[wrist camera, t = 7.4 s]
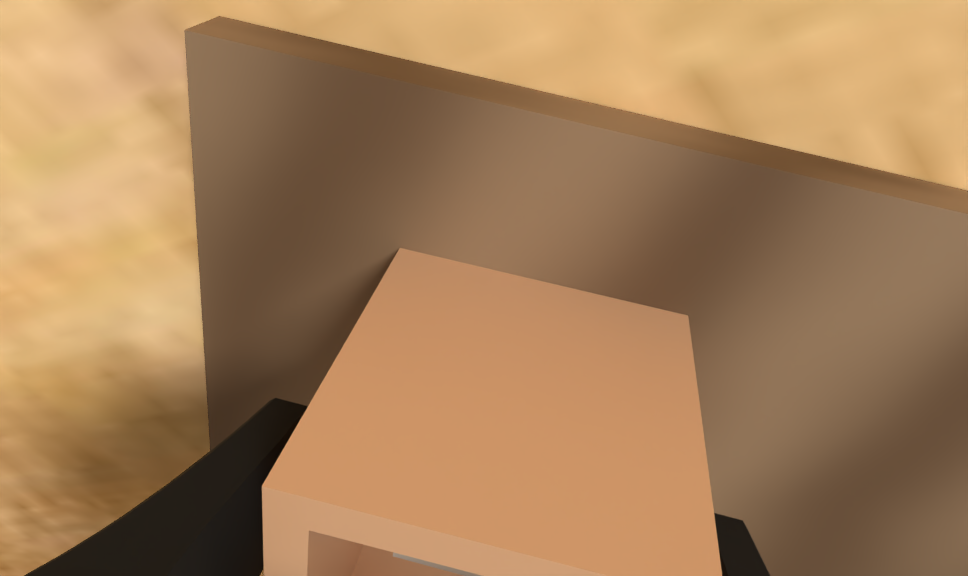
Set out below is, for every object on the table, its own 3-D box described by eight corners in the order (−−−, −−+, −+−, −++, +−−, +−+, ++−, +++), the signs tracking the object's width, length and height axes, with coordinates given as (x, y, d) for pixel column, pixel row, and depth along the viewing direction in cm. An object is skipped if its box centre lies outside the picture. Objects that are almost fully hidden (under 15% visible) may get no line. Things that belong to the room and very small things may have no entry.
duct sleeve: (688, 315, 13) (725, 606, 8) (609, 508, 16) (601, 805, 11) (400, 247, 13) (261, 486, 8) (377, 449, 16) (266, 713, 11)
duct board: (1218, 249, 12) (1512, 445, 8) (877, 631, 18) (944, 841, 14) (219, 16, 13) (37, 88, 9) (234, 459, 19) (134, 613, 15)
